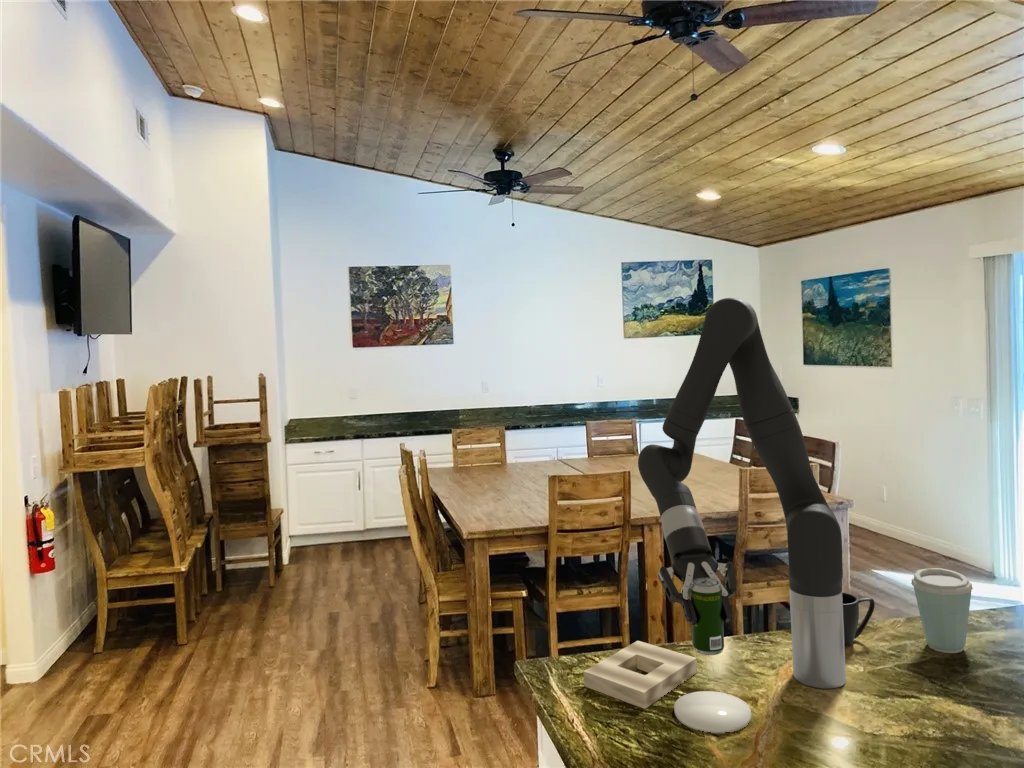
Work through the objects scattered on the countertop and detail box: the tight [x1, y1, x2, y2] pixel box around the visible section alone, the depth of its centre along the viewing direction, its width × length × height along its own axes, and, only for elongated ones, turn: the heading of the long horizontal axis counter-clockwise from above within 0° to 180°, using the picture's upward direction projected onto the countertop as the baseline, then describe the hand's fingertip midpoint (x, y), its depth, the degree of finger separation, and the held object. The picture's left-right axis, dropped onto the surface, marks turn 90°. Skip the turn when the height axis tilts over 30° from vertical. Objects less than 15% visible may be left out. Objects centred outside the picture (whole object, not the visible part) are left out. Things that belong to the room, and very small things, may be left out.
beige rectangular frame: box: [583, 640, 698, 710], centre depth 138 cm, size 18×14×3 cm
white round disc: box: [673, 690, 752, 734], centre depth 124 cm, size 13×13×1 cm
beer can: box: [689, 577, 725, 656], centre depth 123 cm, size 5×5×12 cm
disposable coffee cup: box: [910, 567, 974, 654], centre depth 144 cm, size 11×11×15 cm
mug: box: [842, 591, 876, 647], centre depth 150 cm, size 8×12×10 cm
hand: (710, 621), depth 121 cm, fingers closed on beer can, 5 cm apart
